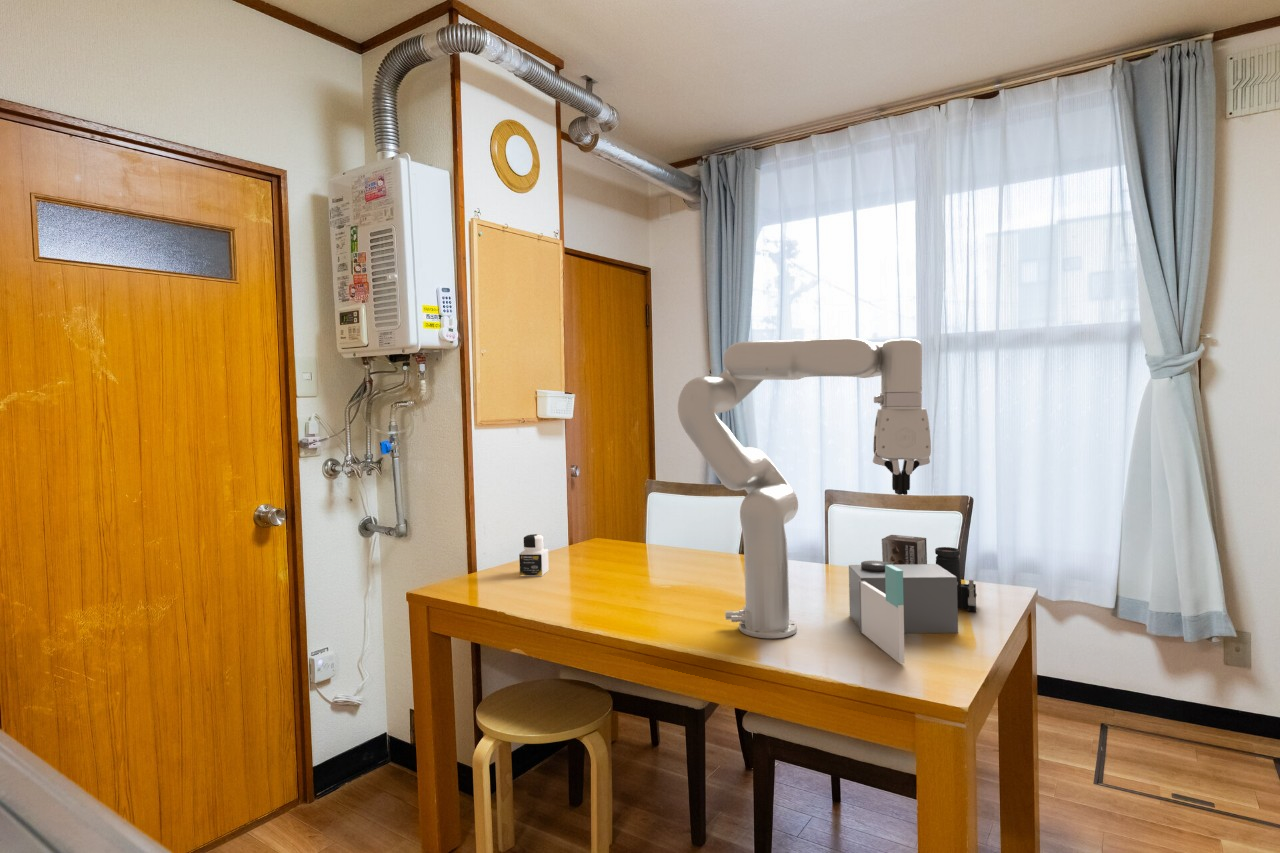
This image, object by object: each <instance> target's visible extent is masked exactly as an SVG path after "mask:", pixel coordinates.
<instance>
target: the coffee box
mask: <svg viewBox="0 0 1280 853" xmlns="http://www.w3.org/2000/svg"><path fill="white" fill-rule="evenodd" d="M927 548H928V547H927V537H920V536H911V535H910V536H909V535H901V534H900V535H898V534H890V535H887V536H884V537H883V538H881V551H882V552H881V553H882V562H887V563H889V565H903V564H928V554H927Z"/></svg>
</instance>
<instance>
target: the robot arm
mask: <svg viewBox="0 0 1280 853" xmlns="http://www.w3.org/2000/svg"><path fill="white" fill-rule="evenodd" d="M722 358H723V360H722V362H723V367H724V370H723V371H722V372H721V373H720V374H719V375H718V376H708V375H707V376H698V377H694V378H692V379H690V380H689V381H688V382H686V384H685V385H684V386H683V387H682V390H681V391H680V394H679V396H678V401H677V414H678V418H679V422H680V424H681V427H682V428H683V431H684V432H685V433H686V434H687V436H688V437H689V439H690V441H692V443H693V444H694V446H696V448H697V450H698V452H700V454H701V456H702V457H703V458H704V460H705V462H706V463H707V464H708V466H709V467H710V468H711V470H712V472H714V473H713V474H715V476H716V477H717V478H718V480H719V481H720V483H721V484H722V485H723V486H724V487H725V488H726V489H728V490H730V491H743V490H744V491H745V492H746V493H747V495H746V496H745V497H744V498H743V500H742V502H741V504H740V509H739V517H740V518H739V521H740V525H741V526H740V527H741V531H742V538H743V552H744V553H743V558H744V580H745V581H744V586H745V587H744V591H745V592H744V595H745V596H744V597H745V605H743V609H739V610H736V611H735V610H734V611H733V610H725V614H724V615H725V620H730V621H731V623H737V622H739V624H738V629H739V631H740V632H741V633H743V634H744V635H747V636H749V637H754V638H758V639H782V638H786V637H790V636H793V635H794V634H795V633H797V630H798V628H797V623H796V622H794V621H792V620H791V619H790V597H789V596H790V590H789V588H790V587H789V584H790V583H789V553H788V549H789V548H788V540H787V535H786V530H785V529H786V528H785V525H786V524H788V523H789V522H790V521H792V520H793V519H794V518H795V517H796V515H797V512H798V511H799V510H798V509H799V501H798V497H797V494H796V492H795V491H794V489H793V488H792V487H791V485H790V484H789V483H788V480H786V478H785V477H784V476H783V475H782V473H781V472H780V470H779V469H778V468H777V466H776V465H775V464H774V463H773V461H772V460H771V459H770V458H769V456H768V455H767V454H766V453H764V452H763V451H762V450H761V449H759V448H756V447H753V446H743V444H741V443H740V442H739V440H738V439H737V438H736V436H735V435H734V434H733V433H732V431H731V430H730V428H729V427H728V426H727V425H726V424H725V423H724V422H723V421H722V420H721V419H720V418H719V417H718V415H717V413H718V414H721V413H722V414H723V413H726V412H729V411H731V410H733V409H734V408H735V407H736V406H737V405H739V404H740V403H741V402H743V400H744V399H745V398H746V397H747V396H748V395H750V393H752V392H753V391H754V390H755V389H756V388H757V387H758V386H759V385H760V384H761V383H762V382H763V381H764V380H765V381H767V380H768V381H769V380H770V381H773V380H774V381H775V380H776V381H777V380H780V381H781V380H783V381H784V380H785V381H787V380H788V381H795V380H796V381H797V380H801V379H803V378H812V377H813V378H814V377H815V378H816V377H847V378H850V377H852V378H860V379H867V378H868V379H869V378H874V377H879V376H880V377H881V378H880V379H881V380H880V382H881V383H880V387H881V389H880V390H881V392H880V394H879V395H878V396H874V397H873V403H874V404H879V406H880V408H878V409H877V412H876V418H875V423H874V432H873V443H872V444H873V448H872V449H873V454H874V455H873V459H872V463H873V464H875V465H878V466H883V467H885V468H886V469H887V470H888V471H889V472H890V473H891V474H892V476H891V484H892V485H891V488H892V490H893V491H894V493H895V494H897V495H899V496H900V495H901V496H902V495H904V496H906V495H908V491H910V488H911V475H912V474H913V472H914V471H915V470H916V469H917V468H918V467H921V466H925V465H929V464H930V463H931V460H930V456H931V453H932V440H931V429H930V422H929V420H930V419H929V415H928V411H927V408H923V407H922V405H923V403H922V402H923V400H922V399H923V398H922V397H923V395H922V394H923V390H922V389H923V386H922V385H923V382H922V380H923V377H922V376H923V362H922V361H923V346H922V343H921V342H920V341H919V340H918V339H913V338H898V339H897V338H896V339H889V340H886V341H884V342H872V341H869V340H866V339H862V338H856V337H855V338H822V339H787V340H757V341H756V340H754V341H753V340H752V341H739V342H736V343H733V344H731V345H730V346H728V347H727V349H726V350H725V352H724V354H723V357H722ZM899 460H903V463H902V467H901V468H902V470H901V469H900V462H899Z"/></svg>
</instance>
